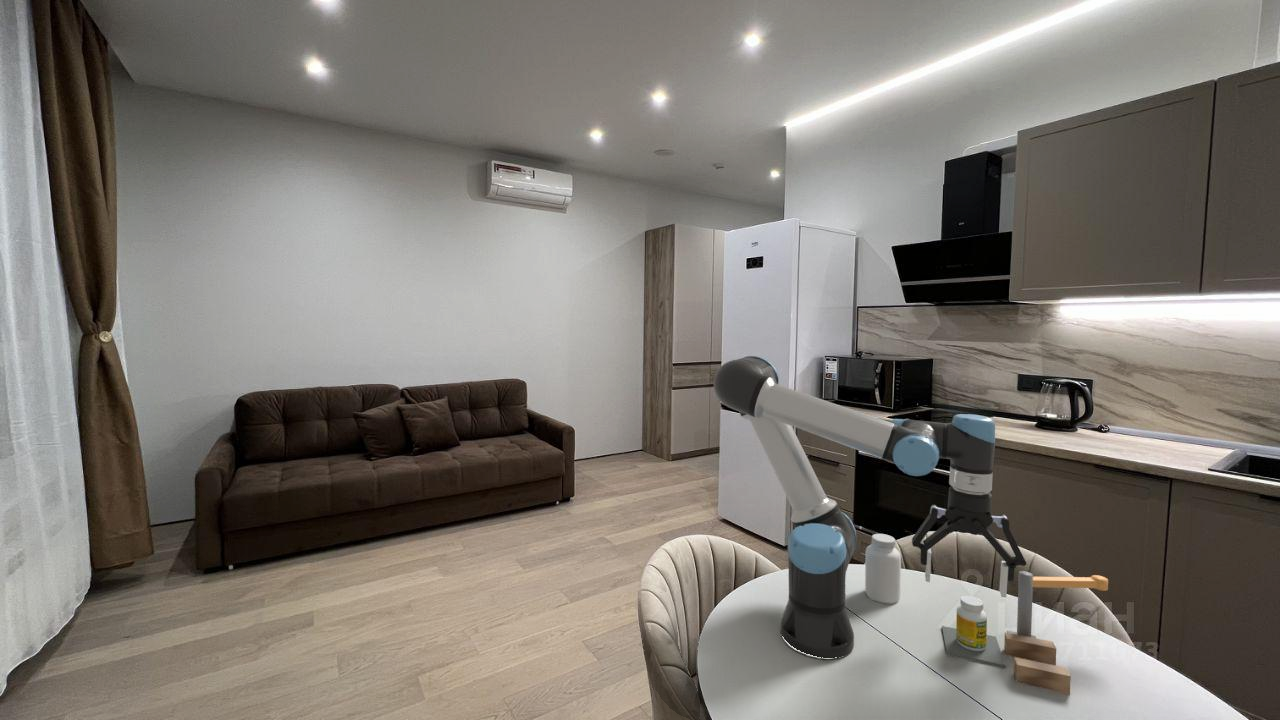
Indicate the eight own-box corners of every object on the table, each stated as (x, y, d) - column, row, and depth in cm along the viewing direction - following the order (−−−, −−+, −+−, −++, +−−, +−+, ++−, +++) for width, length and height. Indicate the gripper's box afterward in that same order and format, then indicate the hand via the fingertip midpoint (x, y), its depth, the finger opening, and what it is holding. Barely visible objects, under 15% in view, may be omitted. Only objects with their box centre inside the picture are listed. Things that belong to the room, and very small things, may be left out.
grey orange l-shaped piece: (1108, 644, 105) (1111, 578, 104) (1021, 642, 107) (1024, 576, 106) (1098, 636, 108) (1101, 571, 107) (1013, 634, 109) (1015, 570, 108)
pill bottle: (901, 592, 129) (902, 535, 128) (898, 608, 122) (899, 547, 121) (867, 584, 133) (868, 528, 132) (862, 599, 127) (863, 540, 125)
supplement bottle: (963, 633, 111) (964, 590, 110) (991, 646, 107) (992, 601, 106) (951, 642, 108) (952, 598, 108) (979, 655, 104) (980, 610, 103)
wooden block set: (1016, 682, 97) (1017, 664, 97) (998, 632, 112) (998, 616, 112) (1070, 694, 93) (1070, 676, 93) (1043, 641, 109) (1044, 625, 108)
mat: (946, 654, 105) (946, 652, 105) (941, 627, 114) (941, 625, 114) (1005, 667, 101) (1005, 665, 101) (995, 638, 110) (995, 636, 110)
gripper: (903, 485, 109) (898, 580, 111) (1049, 505, 98) (1041, 610, 100) (902, 475, 116) (898, 565, 118) (1039, 492, 105) (1032, 591, 107)
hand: (964, 586), depth 109 cm, fingers open, 13 cm apart
